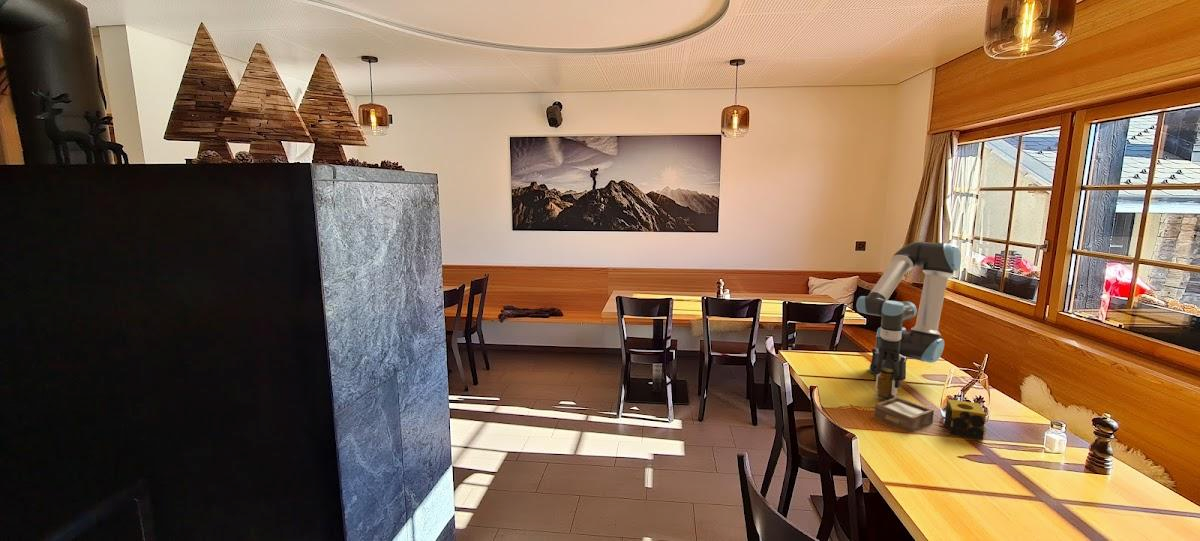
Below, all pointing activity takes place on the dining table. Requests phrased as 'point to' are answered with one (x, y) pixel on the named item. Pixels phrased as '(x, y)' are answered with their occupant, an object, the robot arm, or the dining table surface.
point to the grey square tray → (904, 414)
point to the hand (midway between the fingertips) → (886, 391)
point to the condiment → (885, 384)
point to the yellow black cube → (965, 419)
